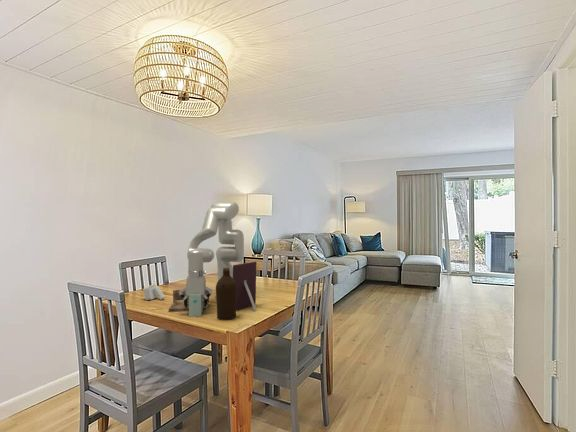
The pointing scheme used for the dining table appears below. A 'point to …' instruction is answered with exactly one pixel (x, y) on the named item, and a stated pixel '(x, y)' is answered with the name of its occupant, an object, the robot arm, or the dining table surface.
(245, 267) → the picture frame
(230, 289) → the olive oil
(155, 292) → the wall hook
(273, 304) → the dining table surface
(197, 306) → the grey-green rectangular block
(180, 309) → the board
